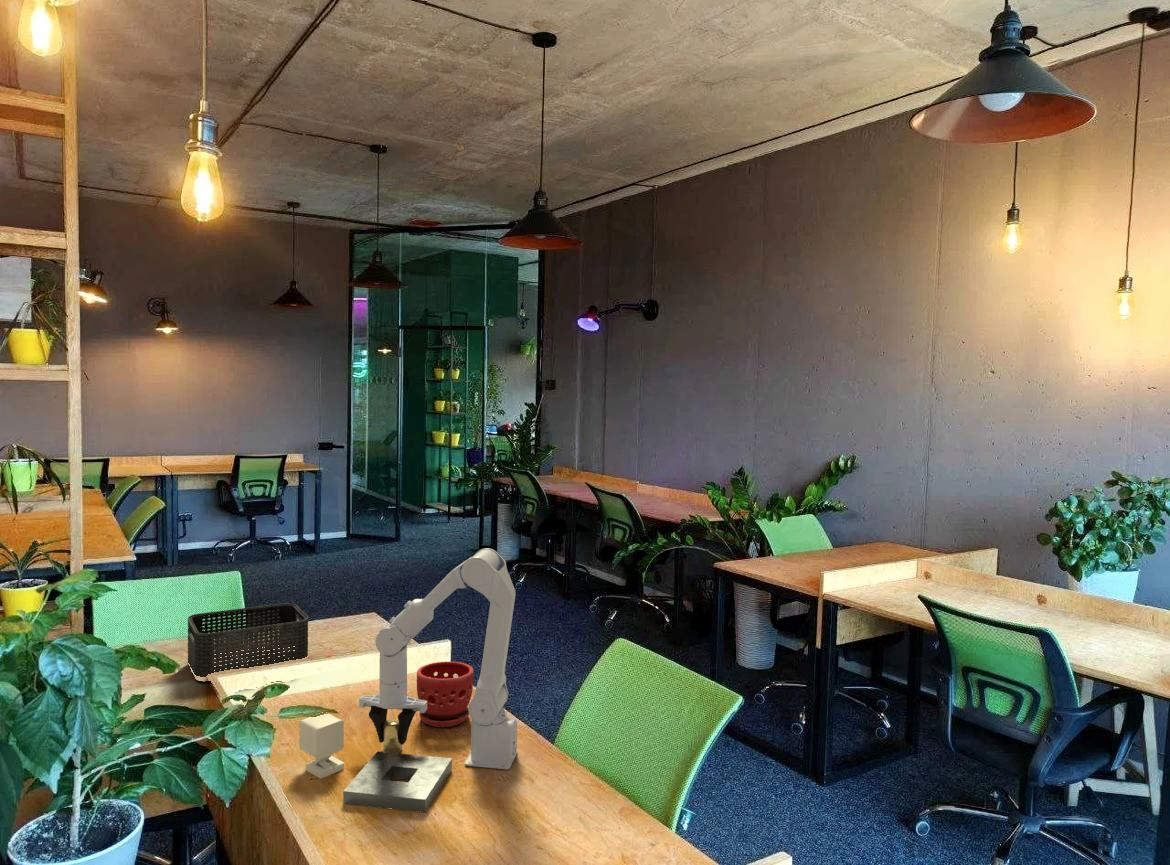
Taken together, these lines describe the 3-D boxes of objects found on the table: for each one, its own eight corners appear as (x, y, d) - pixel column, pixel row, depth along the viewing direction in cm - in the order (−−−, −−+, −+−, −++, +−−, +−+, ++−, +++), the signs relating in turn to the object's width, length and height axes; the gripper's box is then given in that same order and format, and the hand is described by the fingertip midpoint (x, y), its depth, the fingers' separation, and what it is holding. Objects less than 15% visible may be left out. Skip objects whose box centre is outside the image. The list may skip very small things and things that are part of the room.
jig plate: (451, 770, 164) (451, 758, 164) (425, 812, 148) (425, 799, 148) (377, 763, 166) (377, 751, 166) (343, 803, 151) (343, 791, 150)
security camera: (326, 756, 169) (326, 710, 168) (346, 768, 164) (346, 720, 163) (299, 768, 164) (299, 720, 163) (318, 779, 159) (318, 731, 158)
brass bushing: (405, 746, 174) (405, 719, 173) (398, 755, 170) (398, 727, 169) (387, 745, 174) (387, 718, 174) (380, 753, 170) (380, 726, 170)
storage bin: (293, 645, 235) (293, 600, 234) (311, 666, 219) (311, 618, 218) (185, 662, 220) (185, 614, 219) (196, 686, 204) (195, 635, 202)
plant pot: (481, 724, 185) (481, 674, 185) (425, 735, 179) (426, 683, 178) (462, 703, 197) (462, 655, 196) (409, 713, 191) (409, 664, 190)
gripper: (432, 675, 174) (431, 736, 175) (368, 670, 176) (368, 730, 177) (421, 688, 167) (420, 751, 168) (354, 682, 169) (354, 744, 170)
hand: (392, 741), depth 172 cm, fingers closed on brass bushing, 4 cm apart
